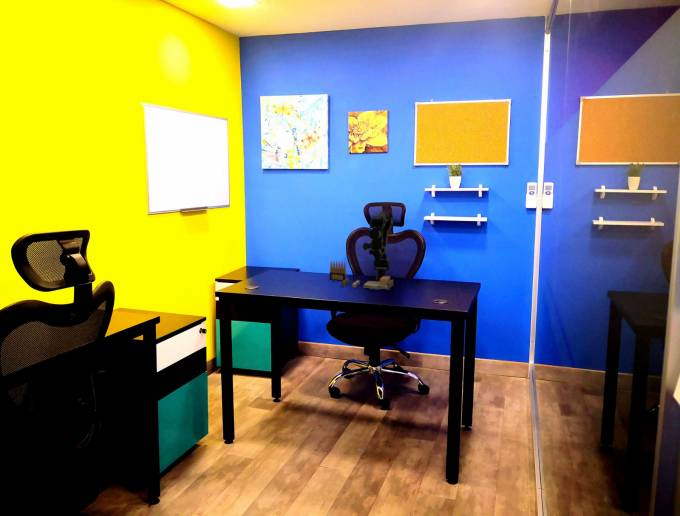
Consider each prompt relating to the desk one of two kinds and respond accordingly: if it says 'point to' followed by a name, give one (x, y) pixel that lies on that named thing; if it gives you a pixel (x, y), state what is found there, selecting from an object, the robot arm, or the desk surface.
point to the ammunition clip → (337, 271)
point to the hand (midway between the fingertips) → (377, 265)
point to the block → (384, 280)
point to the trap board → (369, 284)
